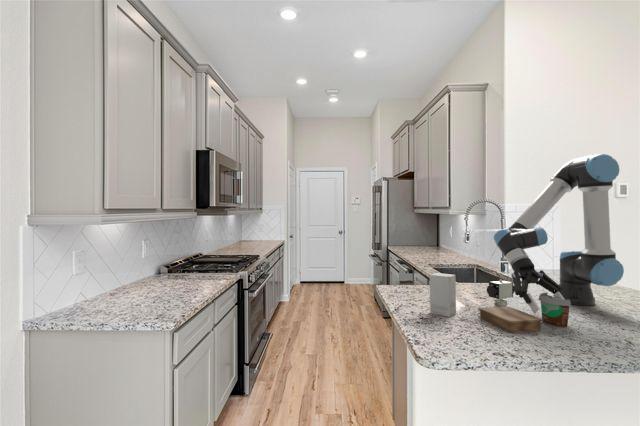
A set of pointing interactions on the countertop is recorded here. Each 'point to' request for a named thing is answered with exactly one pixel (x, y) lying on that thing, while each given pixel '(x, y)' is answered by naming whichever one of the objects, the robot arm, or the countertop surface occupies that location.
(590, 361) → the countertop surface
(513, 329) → the stand
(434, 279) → the skincare box
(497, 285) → the pneumatic valve
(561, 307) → the food container
